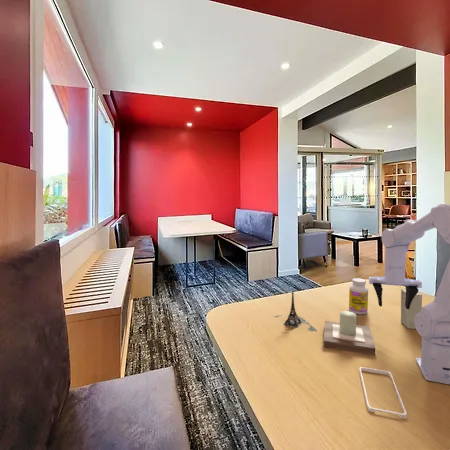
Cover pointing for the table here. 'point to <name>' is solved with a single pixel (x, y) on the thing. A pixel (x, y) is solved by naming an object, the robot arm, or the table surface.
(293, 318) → the eiffel tower figurine
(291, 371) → the table surface
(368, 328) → the walnut base
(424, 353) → the robot arm
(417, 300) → the skincare box
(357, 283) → the supplement bottle
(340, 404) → the table surface
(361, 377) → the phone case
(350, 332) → the sage cylinder
